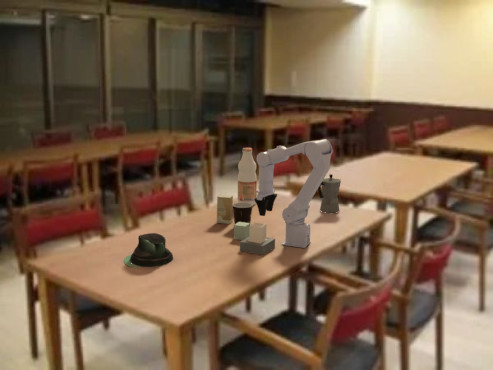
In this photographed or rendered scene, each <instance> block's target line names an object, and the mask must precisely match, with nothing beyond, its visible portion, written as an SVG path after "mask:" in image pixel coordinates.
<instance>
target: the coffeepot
mask: <svg viewBox="0 0 493 370" xmlns="http://www.w3.org/2000/svg"><path fill="white" fill-rule="evenodd" d="M341 182H342V181H341V179H339V178H334V176H333V174H329V178H324V179H323V181H322V183H321V184H320V186H319V188H318V189H317V191H318V195H319V198H320V199H321V203H320V208H319V210H321V211H322V212H321V211H320V212H321V213H323V212H326V213H325V214H329V213H333V214H337V213H336V212H338V211H339V212H340V206H339V204H340V203H339V198H338V195H339V191H340V187H341V184H342V183H341ZM339 212H338V213H339Z"/></svg>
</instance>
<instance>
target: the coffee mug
mask: <svg viewBox="0 0 493 370" xmlns="http://www.w3.org/2000/svg"><path fill="white" fill-rule="evenodd" d="M253 206H254V205H252V204H250V203H238V202H235V203H233V210H232V214H233V220H234V225H235V224H236V223H238V222H245V223H250V224H251V221H252V213H253Z"/></svg>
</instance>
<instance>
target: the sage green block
mask: <svg viewBox="0 0 493 370" xmlns="http://www.w3.org/2000/svg"><path fill="white" fill-rule="evenodd" d="M250 225H251V222H250V223H245V222H238V223H236V224H235V223H234V225H233V240H238V241H239V240H240V241H242V240H244V239H246V238H248V237H249V234H250Z"/></svg>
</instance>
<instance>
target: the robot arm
mask: <svg viewBox="0 0 493 370" xmlns="http://www.w3.org/2000/svg"><path fill="white" fill-rule="evenodd" d="M333 152H334V150H333V147H332V144H331V143H330V141H329V140H328V139H326V138H325V139H324V138H323V139H320V140H319V139H318V140H317V139H316V140H310V141H305V142H301V143H298V144H294V145H292V146H290V147H286V146H285V145H277V146H276V148H273V149H272V148H269V149H267V151H261V152H259V153H258V154H257V155H256V164H257V165H258V167H259V168H258V170H259V171H258V172H259V173H258V174H259V175H258V186H259V187H258V189H257V191H256V192H257V193H256V198H255V202H256V204H255V205H256V206H257V208H258V209H257V210H258V214H259V216H262V217H265V216H266V214H267V212H272V211H273V209H274V205H275V204H274V203H275V201H276V198H277V197H278V193H275V192H276V191H275V190H276V189H275V187H274V172H275V171H274V169H275V164H279V163H281V162H285V161H288V159H290V156H294V155H298V154H301V153H302V155H304V156H305V155H306V157H307V159H308V160H309V162H310V164H311V166H312V167H313V168H312V170H311V172H310V174H309V176H308V177H307V179H306V180H305V182H304V184H303V186H302V187H301V189H300V191H299V192H298V193H297V196H296V198H295V199H294V200H293V201H291V202H290V203H289V204H288V206H287V207H285V208H284V209H283V210H282V212H281V213H282V214H281V215H282V219H283V221H284V223H285V239H284V241H283V242H282V243H281V245H282V246H287V247H295V248H303V249H305V248H307V246H309V245H310V244H311V224H310V223H308V222H307V223H306V222H305V221H306V218H307V217H308V215H309V209H310V208H311V207H310V205H309V204H310V202H311V201H312V199H313V198H314V197H315V194H316V192H317V191H318V188H319V186H320V184H321V183H322V181H323V179H326V178H325V177H326V176H327V174H328V173H329V171H330V167H331V158H332V154H333Z"/></svg>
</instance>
